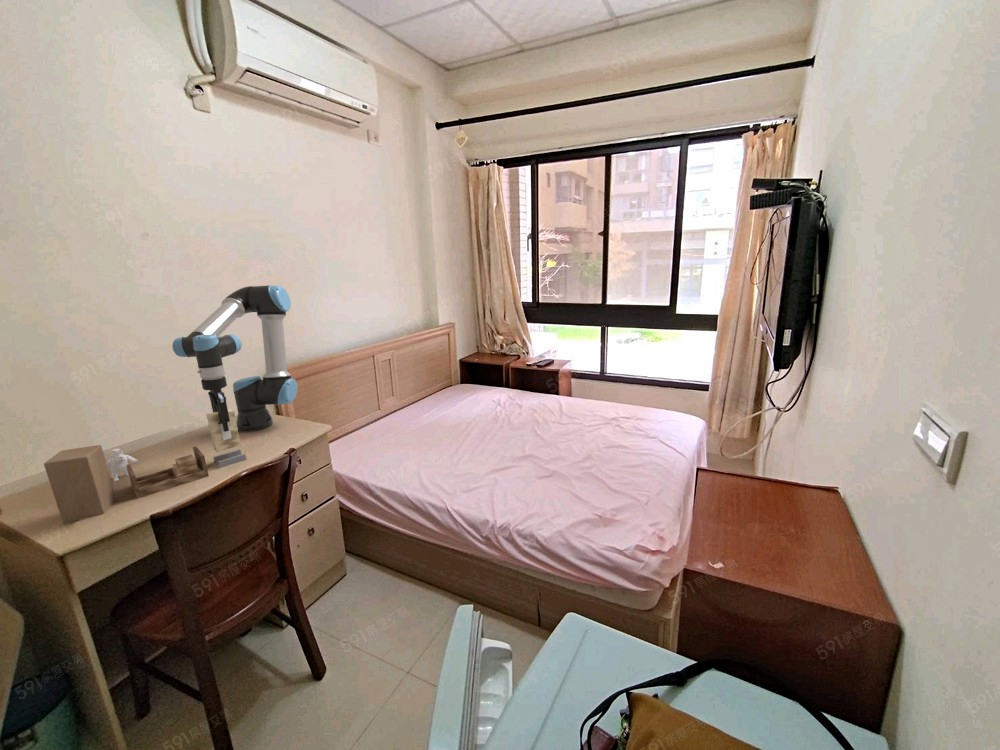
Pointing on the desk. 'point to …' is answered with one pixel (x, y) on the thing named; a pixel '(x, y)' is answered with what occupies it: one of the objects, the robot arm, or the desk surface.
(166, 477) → the rack
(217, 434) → the tan wood slab
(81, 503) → the wooden block
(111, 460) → the figurine
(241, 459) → the holder
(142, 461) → the desk surface
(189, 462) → the offcut stack
